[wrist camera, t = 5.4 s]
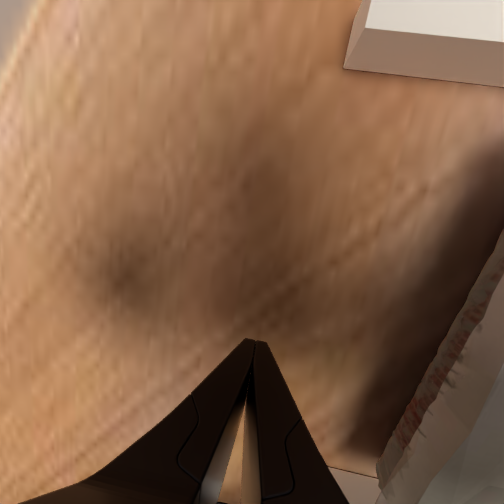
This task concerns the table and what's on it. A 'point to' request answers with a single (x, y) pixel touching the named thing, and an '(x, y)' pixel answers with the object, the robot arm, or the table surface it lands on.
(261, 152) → the table surface
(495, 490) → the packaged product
